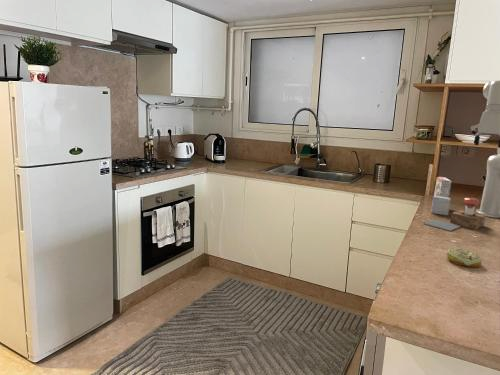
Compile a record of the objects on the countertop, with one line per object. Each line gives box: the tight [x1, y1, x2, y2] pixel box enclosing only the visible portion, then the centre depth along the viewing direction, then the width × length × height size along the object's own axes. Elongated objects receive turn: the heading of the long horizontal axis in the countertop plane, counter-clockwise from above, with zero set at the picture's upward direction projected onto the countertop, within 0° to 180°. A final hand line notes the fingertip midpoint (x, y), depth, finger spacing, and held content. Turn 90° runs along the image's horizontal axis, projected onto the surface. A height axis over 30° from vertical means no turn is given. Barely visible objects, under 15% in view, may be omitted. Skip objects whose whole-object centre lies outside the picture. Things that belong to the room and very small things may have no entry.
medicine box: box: [430, 195, 452, 216], centre depth 195 cm, size 8×4×9 cm, turn 65°
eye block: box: [449, 209, 487, 230], centre depth 179 cm, size 11×11×5 cm
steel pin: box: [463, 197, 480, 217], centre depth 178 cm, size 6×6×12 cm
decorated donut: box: [446, 247, 483, 268], centre depth 132 cm, size 10×11×4 cm
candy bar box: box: [433, 176, 453, 198], centre depth 206 cm, size 11×5×16 cm, turn 168°
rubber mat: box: [423, 218, 462, 232], centre depth 175 cm, size 12×12×1 cm
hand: (487, 146), depth 177 cm, fingers open, 9 cm apart
